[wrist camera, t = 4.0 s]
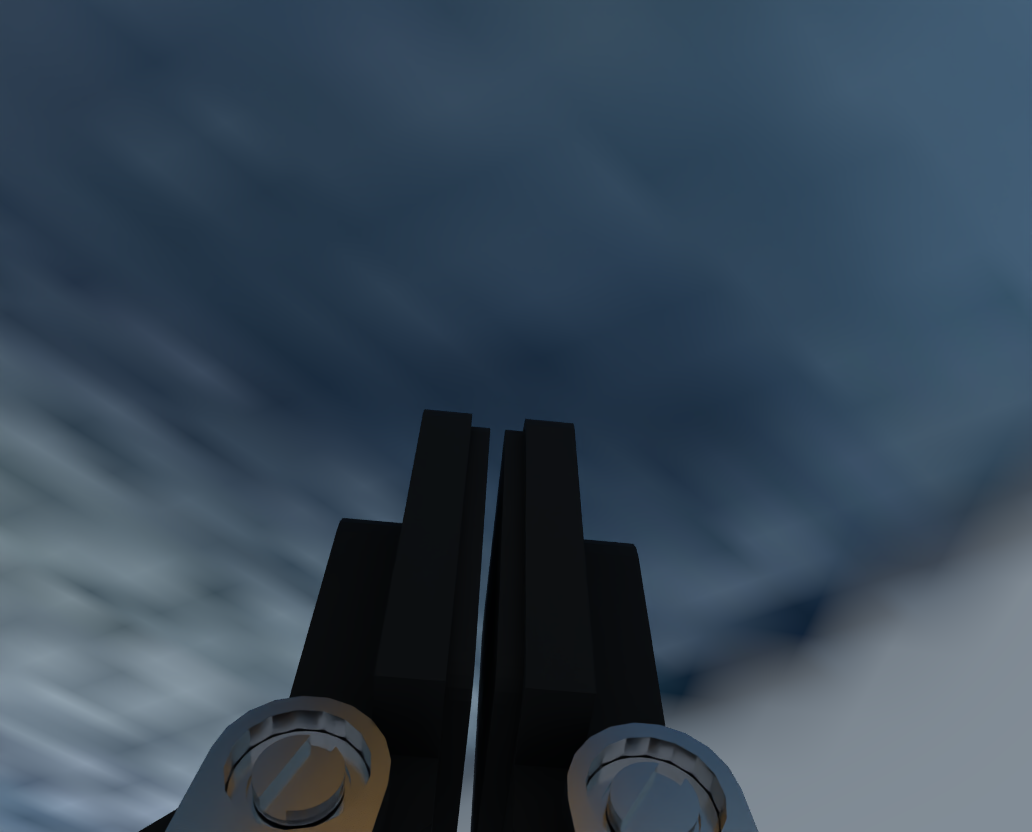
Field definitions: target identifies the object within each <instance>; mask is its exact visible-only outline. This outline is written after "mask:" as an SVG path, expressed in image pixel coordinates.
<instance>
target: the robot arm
mask: <svg viewBox="0 0 1032 832" xmlns="http://www.w3.org/2000/svg"><path fill="white" fill-rule="evenodd" d="M471 422H472V414H468V413H457V412H447V411H436V410H424V412H423V417H422V422H421V428H420V433H419V438H418V444H417V449H416V454H415V459H414V465H413V470H412V475H411V481H410V486H409V491H408V497H407V502H406V507H405V513H404V518H403V523H393V522H382V521H371V520H360V519H348V518H342V520H341V521H340V523H339V526H338V529H337V532H336V535H335V539H334V542H333V546H332V549H331V553H330V556H329V560H328V563H327V567H326V570H325V574H324V577H323V581H322V585H321V588H320V592H319V595H318V599H317V602H316V606H315V609H314V613H313V616H312V620H311V623H310V627H309V630H308V634H307V637H306V641H305V644H304V648H303V651H302V655H301V658H300V662H299V665H298V669H297V673H296V676H295V680H294V683H293V687H292V690H291V694H290V697H289V698H286V699H280V700H274V701H272V702H269V703H267V704H265V705H262V706H260V707H257V708H255V709H252V710H250V711H248V712H247V713H246V714H244V715H243V716H241V717H240V718H239V719H237V720H236V721H235V722H233V723H232V724H231V725H229V726H228V727H227V728H226V729H225V730H224V732H223V733H222V734H221V736H220V737H219V738H218V740H217V741H216V742H215V743H214V745H213V746H212V747H211V749H210V751H209V752H208V754H207V756H206V758H205V760H204V762H203V763H202V765H201V767H200V769H199V771H198V772H197V774H196V776H195V778H194V780H193V781H192V783H191V785H190V787H189V789H188V791H187V792H186V794H185V796H184V798H183V800H182V801H181V803H180V805H179V807H178V809H176V810H174V811H173V812H171V813H169V814H168V815H166V816H164V817H163V818H161V819H159V820H157V821H156V822H154V823H152V824H151V825H149V826H147V827H146V828H144V829H142V830H141V831H139V832H457V825H458V816H459V807H460V798H461V789H462V780H463V771H464V762H465V753H466V745H467V736H468V727H469V718H470V709H471V699H472V688H473V677H474V665H475V651H476V636H477V621H478V605H479V590H480V575H481V560H482V545H483V529H484V514H485V499H486V484H487V469H488V454H489V438H490V428H481V427H471ZM471 832H758V830H757V827H756V825H755V822H754V820H753V817H752V815H751V812H750V810H749V807H748V805H747V802H746V800H745V797H744V795H743V792H742V790H741V788H740V786H739V784H738V783H737V781H736V779H735V777H734V776H733V774H732V772H731V771H730V769H729V767H728V766H727V765H726V764H725V763H724V762H723V761H722V760H721V759H720V758H719V757H718V756H717V755H716V754H715V753H714V752H713V751H712V750H711V749H710V748H709V747H707V746H706V745H704V744H702V743H701V742H699V741H697V740H696V739H694V738H692V737H691V736H689V735H687V734H686V733H683V732H680V731H677V730H674V729H671V728H668V727H665V722H664V715H663V709H662V703H661V696H660V690H659V684H658V677H657V671H656V665H655V658H654V652H653V646H652V640H651V633H650V627H649V621H648V614H647V608H646V602H645V595H644V589H643V583H642V576H641V570H640V564H639V558H638V553H637V549H636V547H635V546H634V544H629V543H618V542H607V541H595V540H584V538H583V526H582V514H581V502H580V490H579V477H578V465H577V453H576V441H575V429H574V424H573V423H563V422H553V421H542V420H531V419H525V423H524V428H523V431H513V430H505V436H504V444H503V452H502V461H501V470H500V479H499V487H498V496H497V505H496V514H495V523H494V531H493V540H492V549H491V558H490V566H489V575H488V584H487V593H486V601H485V610H484V620H483V632H482V646H481V663H480V680H479V697H478V714H477V731H476V748H475V765H474V782H473V799H472V816H471Z"/></svg>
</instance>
